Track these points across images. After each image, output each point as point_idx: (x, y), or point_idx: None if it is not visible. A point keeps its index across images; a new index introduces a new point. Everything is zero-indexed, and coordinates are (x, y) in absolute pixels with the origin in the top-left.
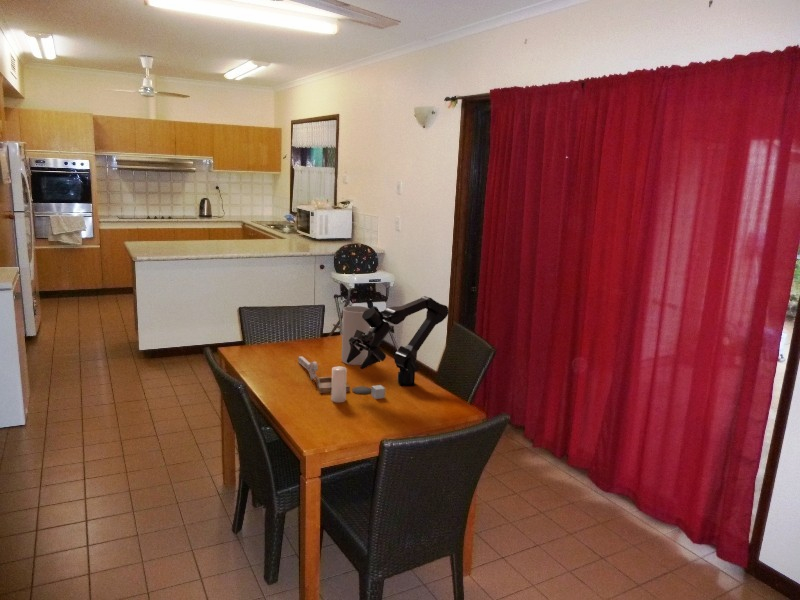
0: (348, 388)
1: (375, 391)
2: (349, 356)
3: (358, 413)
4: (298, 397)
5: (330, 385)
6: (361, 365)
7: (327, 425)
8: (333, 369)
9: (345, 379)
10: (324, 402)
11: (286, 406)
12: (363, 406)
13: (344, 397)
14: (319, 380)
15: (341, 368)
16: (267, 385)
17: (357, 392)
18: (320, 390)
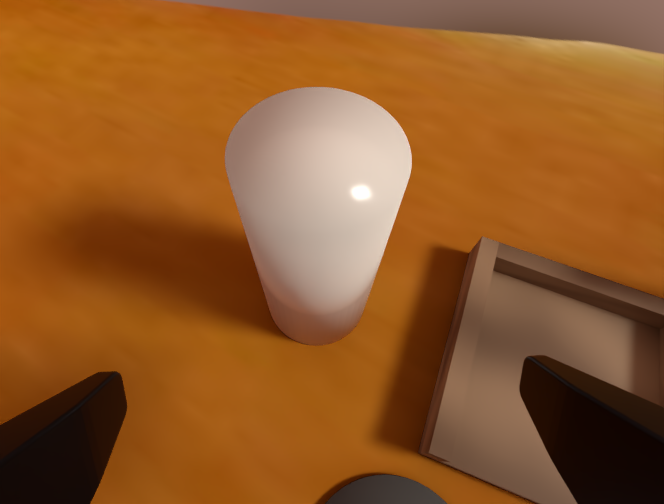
0: (426, 442)
1: None
2: (607, 406)
3: (57, 290)
4: (448, 141)
5: None
6: (78, 398)
7: (73, 103)
8: (332, 97)
9: (252, 249)
10: None
11: (366, 67)
12: None
13: (268, 306)
14: (630, 303)
15: (318, 177)
16: (652, 98)
17: (358, 498)
18: (474, 250)
